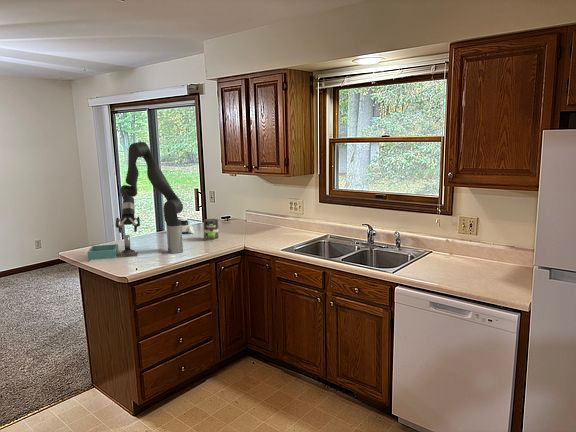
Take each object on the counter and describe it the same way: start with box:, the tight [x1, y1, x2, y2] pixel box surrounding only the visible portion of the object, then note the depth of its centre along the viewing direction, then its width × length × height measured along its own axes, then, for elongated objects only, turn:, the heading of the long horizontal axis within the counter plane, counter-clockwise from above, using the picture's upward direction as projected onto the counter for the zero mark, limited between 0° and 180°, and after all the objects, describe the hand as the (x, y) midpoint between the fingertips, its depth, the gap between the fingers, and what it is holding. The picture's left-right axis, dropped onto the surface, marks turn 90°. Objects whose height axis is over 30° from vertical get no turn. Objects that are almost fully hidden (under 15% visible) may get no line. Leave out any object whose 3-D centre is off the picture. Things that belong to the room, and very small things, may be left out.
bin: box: [87, 243, 120, 262], centre depth 260 cm, size 15×15×6 cm
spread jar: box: [178, 216, 195, 235], centre depth 326 cm, size 12×11×12 cm
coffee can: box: [203, 218, 220, 242], centre depth 304 cm, size 10×10×14 cm
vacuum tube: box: [123, 234, 133, 253], centre depth 260 cm, size 5×5×12 cm
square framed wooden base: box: [116, 249, 139, 259], centre depth 261 cm, size 11×11×3 cm
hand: (127, 232), depth 266 cm, fingers open, 8 cm apart
